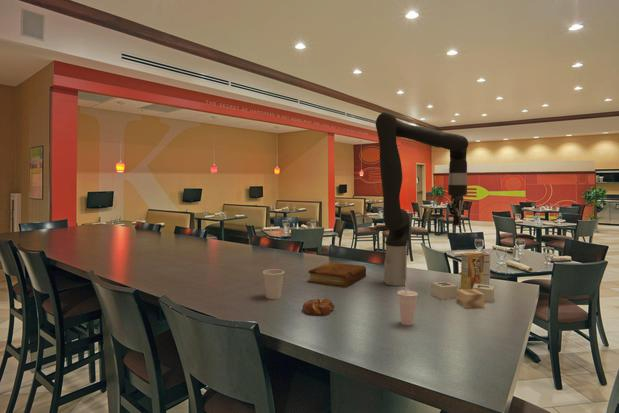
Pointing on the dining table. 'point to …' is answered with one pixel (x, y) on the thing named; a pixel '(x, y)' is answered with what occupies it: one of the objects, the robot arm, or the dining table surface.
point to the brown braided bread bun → (318, 307)
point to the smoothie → (407, 305)
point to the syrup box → (486, 267)
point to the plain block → (470, 298)
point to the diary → (337, 274)
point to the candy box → (471, 270)
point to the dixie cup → (273, 283)
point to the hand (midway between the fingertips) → (456, 224)
